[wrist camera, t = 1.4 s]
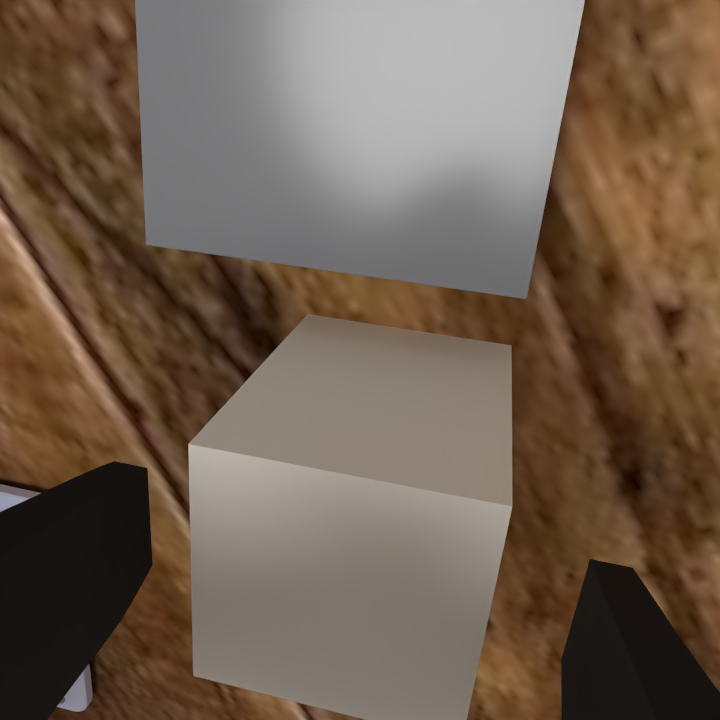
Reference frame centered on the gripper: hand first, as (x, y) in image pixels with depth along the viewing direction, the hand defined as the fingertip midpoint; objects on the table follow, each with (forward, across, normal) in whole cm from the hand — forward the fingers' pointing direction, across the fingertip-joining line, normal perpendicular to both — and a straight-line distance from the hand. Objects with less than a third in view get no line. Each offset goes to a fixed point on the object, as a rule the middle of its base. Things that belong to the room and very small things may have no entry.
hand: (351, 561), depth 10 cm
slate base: (+5, +2, -7) cm, 9 cm away
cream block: (+5, 0, 0) cm, 5 cm away
